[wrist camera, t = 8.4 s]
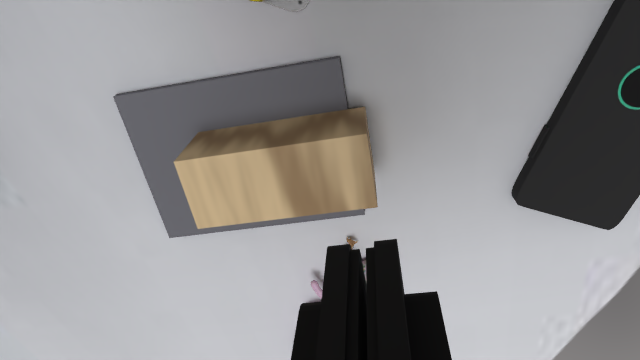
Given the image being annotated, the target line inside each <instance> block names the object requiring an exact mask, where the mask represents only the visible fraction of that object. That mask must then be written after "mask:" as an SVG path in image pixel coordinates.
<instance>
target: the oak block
mask: <svg viewBox="0 0 640 360" xmlns="http://www.w3.org/2000/svg"><path fill="white" fill-rule="evenodd" d="M174 165H175V167H176V170H177V173H178V176H179V178H180V181H181V184H182V187H183V189H184V192H185V195H186V198H187V200H188V203H189V206H190V209H191V212H192V214H193V217H194V220H195V223H196V225H197V228H198V229H202V228H210V227H219V226H227V225H235V224H243V223H251V222H260V221H268V220H276V219H284V218H293V217H301V216H309V215H317V214H326V213H334V212H342V211H350V210H358V209H367V208H375V207H377V196H376V184H375V173H374V166H373V159H372V152H371V145H370V138H369V131H368V124H367V117H366V110H365V107H360V108H353V109H347V110H340V111H334V112H327V113H321V114H314V115H308V116H301V117H295V118H288V119H282V120H275V121H269V122H262V123H256V124H249V125H243V126H236V127H230V128H223V129H216V130H210V131H203V132H198V133H197V134H196V136H195V137H194V138H193V139H192V140H191V142H190V143H189V144H188V145H187V146H186V148H185V149H184V150H183V151H182V152H181V154H180V155H179V156H178V157H177V158H176V160H175V161H174Z"/></svg>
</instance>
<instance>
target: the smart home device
mask: <svg viewBox="0 0 640 360" xmlns="http://www.w3.org/2000/svg"><path fill="white" fill-rule="evenodd" d="M639 195H640V0H614V2H613V4H612V6H611V8H610V10H609V11H608V13H607V15H606V17H605V19H604V21H603V22H602V24H601V26H600V28H599V30H598V32H597V33H596V35H595V37H594V39H593V41H592V43H591V44H590V46H589V48H588V50H587V52H586V53H585V55H584V57H583V59H582V61H581V63H580V64H579V66H578V68H577V70H576V72H575V74H574V75H573V77H572V79H571V81H570V83H569V85H568V86H567V88H566V90H565V92H564V94H563V96H562V97H561V99H560V101H559V103H558V105H557V107H556V108H555V110H554V112H553V114H552V116H551V118H550V119H549V121H548V123H547V125H545V126H544V128H543V130H542V132H541V134H540V135H539V137H538V139H537V141H536V143H535V145H534V146H533V148H532V150H531V152H530V154H529V158H528V160H527V161H526V163H525V165H524V167H523V169H522V171H521V172H520V174H519V176H518V178H517V180H516V182H515V184H514V186H513V189H512V196H513V198H514V199H515V201H516V203H517V204H518V205H520V206H523V207H526V208H530V209H534V210H537V211H541V212H544V213H548V214H552V215H555V216H559V217H562V218H566V219H570V220H573V221H577V222H580V223H584V224H588V225H591V226H595V227H598V228H602V229H607V230H610V229H612V228H614V227H615V226H617V225H618V224H619V223H620V222H621V220H622V219H623V218H624V216H625V215H626V214H627V212H628V211H629V209H630V208H631V206H632V205H633V204H634V202H635V201H636V199H637V198H638V197H639Z"/></svg>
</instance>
